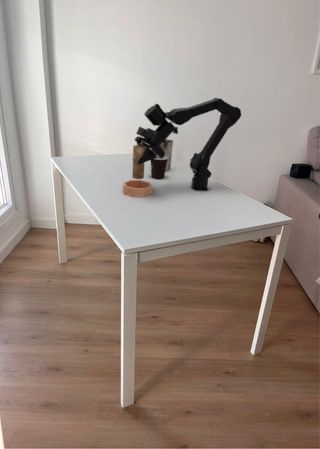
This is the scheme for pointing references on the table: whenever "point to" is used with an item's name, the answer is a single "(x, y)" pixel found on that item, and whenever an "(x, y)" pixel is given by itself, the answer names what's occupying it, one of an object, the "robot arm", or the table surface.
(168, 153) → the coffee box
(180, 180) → the table surface
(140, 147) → the walnut peg
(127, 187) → the terracotta dish
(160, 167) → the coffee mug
